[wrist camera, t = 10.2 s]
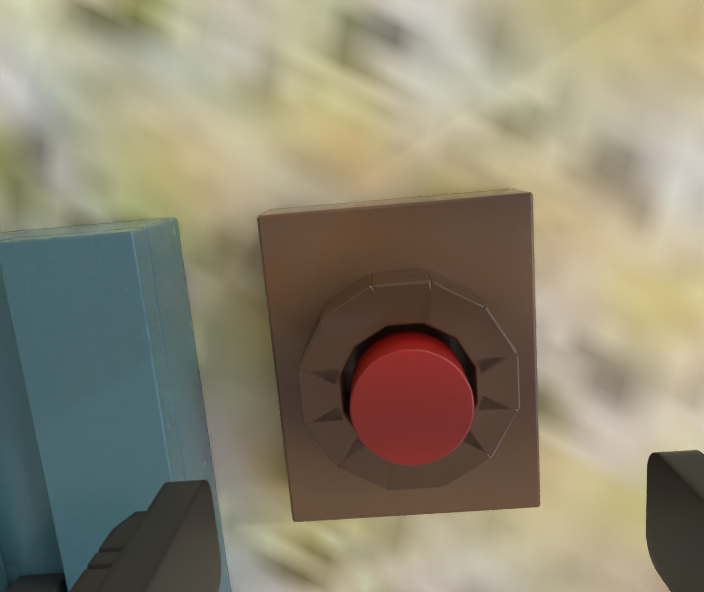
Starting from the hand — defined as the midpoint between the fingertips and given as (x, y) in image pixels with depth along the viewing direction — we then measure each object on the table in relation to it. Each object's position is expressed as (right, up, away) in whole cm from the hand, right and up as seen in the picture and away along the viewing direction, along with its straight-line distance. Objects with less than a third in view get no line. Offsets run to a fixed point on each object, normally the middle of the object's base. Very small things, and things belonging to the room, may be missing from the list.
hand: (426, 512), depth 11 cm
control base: (-11, -2, +11) cm, 16 cm away
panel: (0, +2, +10) cm, 10 cm away
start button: (0, +1, +6) cm, 7 cm away
